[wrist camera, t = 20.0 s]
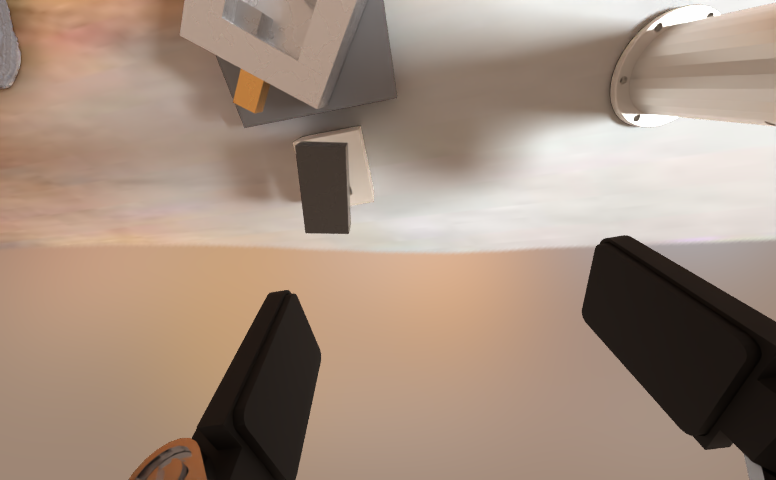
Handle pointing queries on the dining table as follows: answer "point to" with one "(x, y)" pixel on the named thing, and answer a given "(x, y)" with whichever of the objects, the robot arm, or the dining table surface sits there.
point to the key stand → (351, 161)
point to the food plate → (8, 48)
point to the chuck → (276, 44)
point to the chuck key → (324, 186)
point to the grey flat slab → (354, 84)
